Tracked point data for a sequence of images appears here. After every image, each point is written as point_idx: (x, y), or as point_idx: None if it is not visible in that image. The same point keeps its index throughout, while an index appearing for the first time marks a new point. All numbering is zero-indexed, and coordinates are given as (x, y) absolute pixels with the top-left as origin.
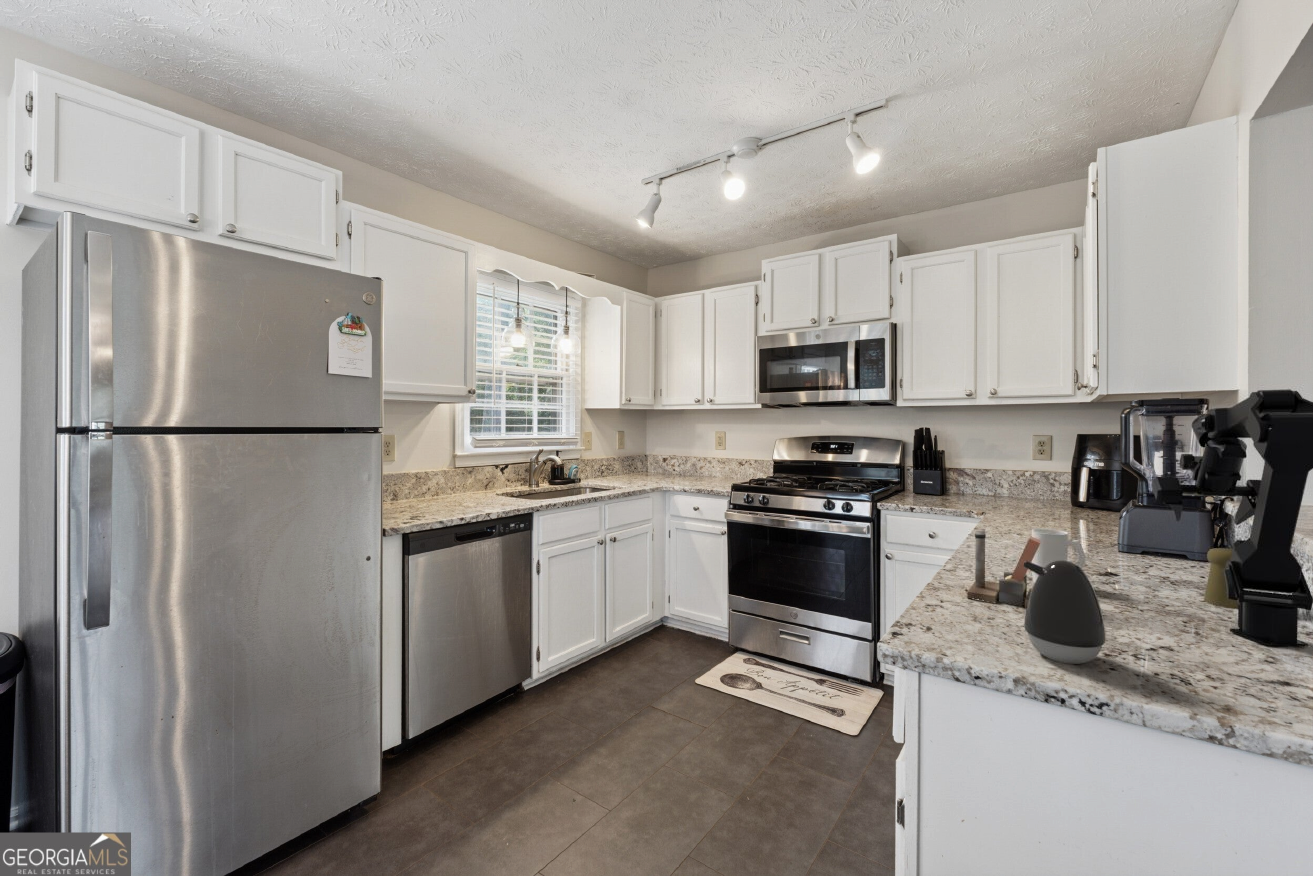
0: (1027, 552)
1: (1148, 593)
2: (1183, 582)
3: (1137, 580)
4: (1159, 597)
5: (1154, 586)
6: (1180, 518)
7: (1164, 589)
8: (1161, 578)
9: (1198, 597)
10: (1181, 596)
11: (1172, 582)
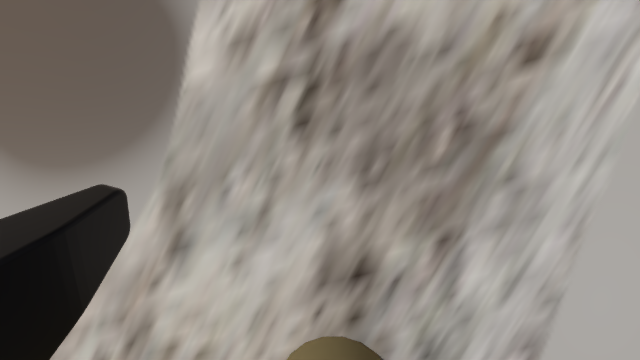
0: None
1: (130, 305)
2: (360, 77)
3: (185, 94)
4: (143, 357)
5: (205, 184)
6: (85, 308)
7: (220, 225)
8: (303, 25)
9: (287, 322)
10: (231, 322)
11: (313, 90)
